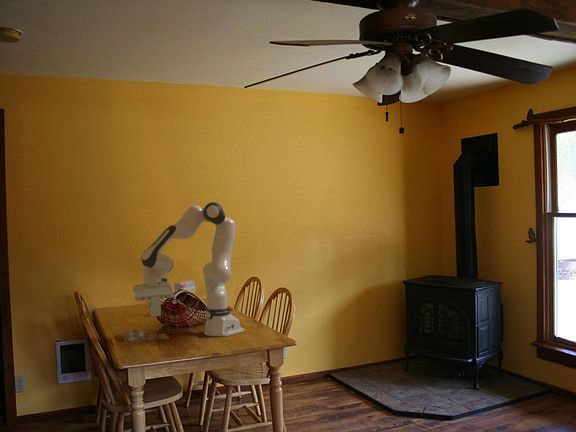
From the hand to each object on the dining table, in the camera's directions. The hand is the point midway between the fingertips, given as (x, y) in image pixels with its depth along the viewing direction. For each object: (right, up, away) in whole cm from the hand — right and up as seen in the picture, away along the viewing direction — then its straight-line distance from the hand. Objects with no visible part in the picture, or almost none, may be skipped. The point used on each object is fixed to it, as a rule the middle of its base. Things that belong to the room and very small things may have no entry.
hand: (155, 305), depth 283 cm
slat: (0, -6, +1) cm, 6 cm away
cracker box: (+3, -17, +67) cm, 69 cm away
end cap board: (-5, -19, -1) cm, 19 cm away
